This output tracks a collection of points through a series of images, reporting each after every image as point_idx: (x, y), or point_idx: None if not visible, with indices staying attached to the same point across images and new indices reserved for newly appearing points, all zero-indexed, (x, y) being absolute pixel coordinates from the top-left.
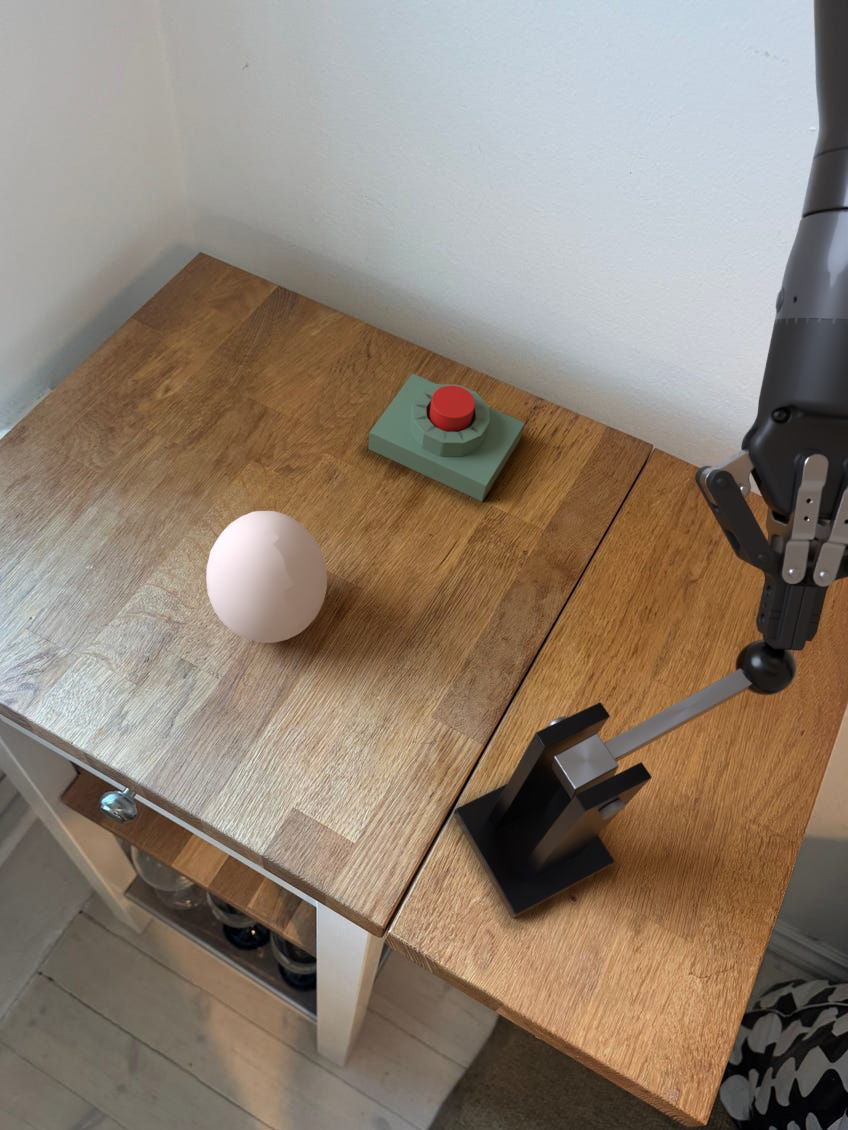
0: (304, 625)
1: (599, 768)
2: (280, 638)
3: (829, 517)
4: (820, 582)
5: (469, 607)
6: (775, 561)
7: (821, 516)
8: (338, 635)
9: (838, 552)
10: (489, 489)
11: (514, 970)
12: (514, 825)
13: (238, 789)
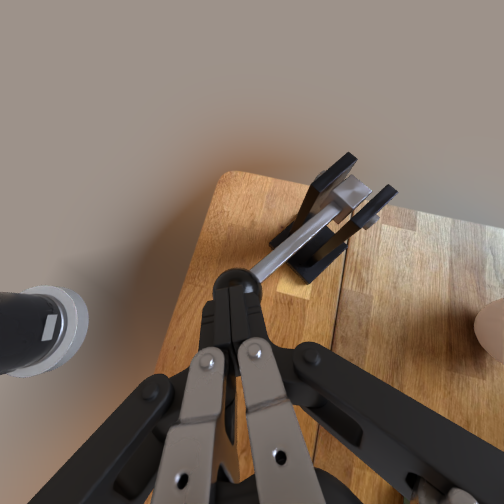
0: (489, 313)
1: (343, 187)
2: (493, 302)
3: (218, 488)
4: (212, 350)
5: (379, 377)
6: (283, 366)
7: (236, 485)
8: (443, 331)
9: (190, 406)
10: (404, 497)
11: (299, 193)
12: (319, 246)
13: (443, 232)
